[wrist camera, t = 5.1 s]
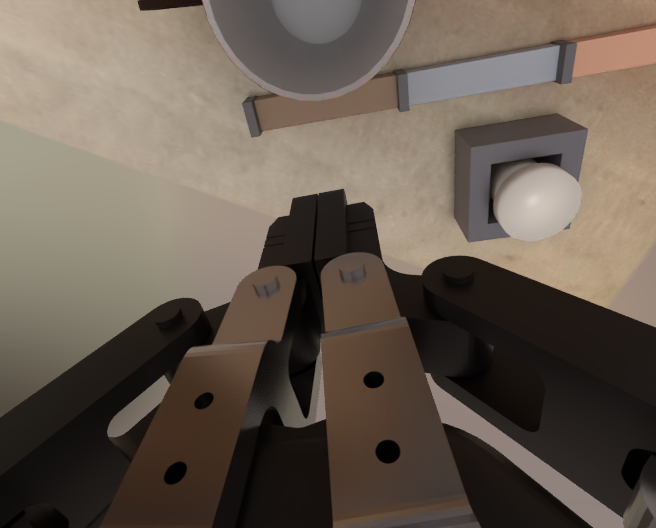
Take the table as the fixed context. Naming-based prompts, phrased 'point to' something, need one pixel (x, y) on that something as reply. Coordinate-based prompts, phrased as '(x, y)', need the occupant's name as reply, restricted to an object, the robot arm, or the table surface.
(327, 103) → the walnut segment
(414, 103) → the slate segment
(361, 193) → the table surface
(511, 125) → the dome housing
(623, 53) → the terracotta segment
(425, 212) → the table surface
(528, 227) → the dome plunger
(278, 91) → the coffee mug
